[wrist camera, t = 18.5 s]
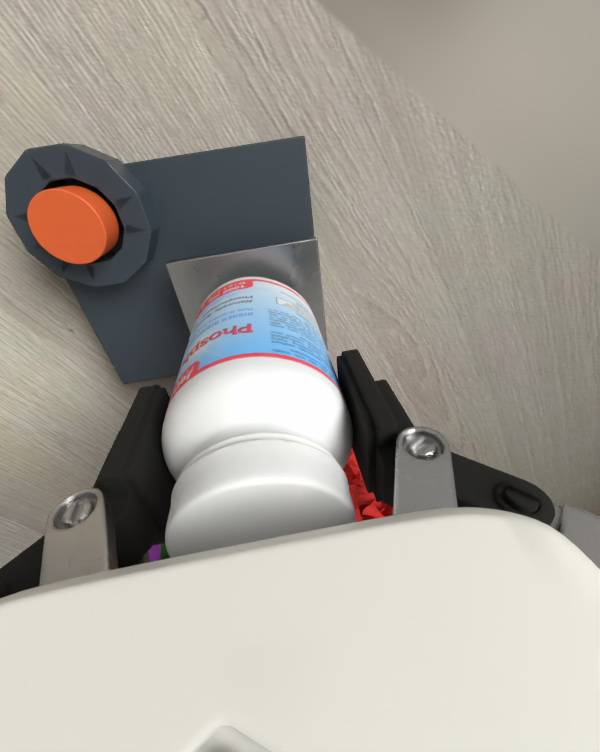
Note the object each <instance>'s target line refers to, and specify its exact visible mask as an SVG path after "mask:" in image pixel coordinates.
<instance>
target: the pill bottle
mask: <svg viewBox="0 0 600 752" xmlns="http://www.w3.org/2000/svg"><path fill="white" fill-rule="evenodd" d="M161 441H162V451H163V455H164V459H165V462H166V464H167V467H168V469H169V471H170V473H171V474H172V476H173V477H174V479H175V480H176V484H175V486H174V488H173V491H172V495H171V507H170V512H169V516H168V520H167V525H166V531H165V545H166V549H167V552H168V554H169V556H170V558H173V557H178V556H183V555H188V554H193V553H199V552H204V551H209V550H214V549H219V548H224V547H229V546H234V545H239V544H244V543H250V542H255V541H260V540H265V539H270V538H275V537H280V536H286V535H291V534H296V533H301V532H307V531H312V530H317V529H322V528H328V527H333V526H338V525H343V524H349V523H354V522H356V514H355V509H354V506H353V502H352V498H351V495H350V491H349V484H348V480H347V477H346V475H345V473H344V471H343V468H344V467H345V465H346V462H347V460H348V458H349V455H350V452H351V448H352V442H353V427H352V421H351V417H350V413H349V410H348V407H347V403H346V401H345V398H344V395H343V392H342V390H341V387H340V384H339V381H338V379H337V376H336V373H335V371H334V368H333V366H332V363H331V360H330V357H329V355H328V352H327V349H326V347H325V344H324V341H323V338H322V336H321V333H320V330H319V327H318V325H317V322H316V319H315V317H314V315H313V312H312V310H311V308H310V307H309V305H308V304H307V302H306V301H305V300H304V298H303V297H302V296H301V295H300V294H298V293H297V292H296V291H295V290H293V289H292V288H290V287H288V286H286V285H284V284H282V283H280V282H278V281H275V280H271V279H268V278H263V277H242V278H238V279H234V280H231V281H229V282H227V283H225V284H223V285H221V286H219V287H218V288H217V289H215V290H214V291H213V292H212V293H211V294H210V295H209V296H208V297H207V298H206V300H205V301H204V302H203V304H202V306H201V308H200V310H199V312H198V314H197V317H196V320H195V323H194V326H193V329H192V332H191V335H190V338H189V341H188V344H187V348H186V351H185V353H184V357H183V360H182V363H181V367H180V370H179V372H178V375H177V379H176V382H175V386H174V389H173V392H172V395H171V398H170V401H169V404H168V408H167V411H166V415H165V419H164V422H163V428H162V439H161Z"/></svg>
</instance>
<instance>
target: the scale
mask: <svg viewBox="0 0 600 752" xmlns="http://www.w3.org/2000/svg"><path fill="white" fill-rule="evenodd" d="M63 186H80V187H84V188H87V189H89V190H91V191H93V192H95V193H96V194H98V195H99V196H100V197H101V198H103V199H104V200H105V201H106V202H107V203H108V205H109V206H110V207H111V209H112V210H113V212H114V214H115V216H116V218H117V221H118V225H119V237H118V241H117V243H116V245H115V246H114V247H113V249H111V250H110V251H109V252H107V253H106V254H104V255H103V256H102V257H100V258H99V259H97V260H95V261H94V262H91V263H88V264H72V263H68V262H65V261H63V260H60V259H58V258H56V257H55V256H53V255H52V254H50V253H49V252H48V251H46V250H45V249H44V248H43V247H42V246H41V245H40V244H39V242H38V241H37V240H36V238H35V237H34V235H33V233H32V231H31V229H30V226H29V223H28V217H27V211H28V206H29V203H30V201H31V199H32V198H33V197H34V196H35V195H36V194H37V193H39V192H41V191H43V190H46V189H51V188H57V187H63ZM5 193H6V214H7V217H8V218H9V220H10V222H11V224H12V225H13V227H14V229H15V230H16V232H17V234H18V235H19V237H20V239H21V241H22V242H23V244H24V246H25V247H26V249H27V251H28V252H29V253H30V254H32V255H33V256H34V257H36V258H37V259H38V260H39V261H41V262H42V263H43V264H44V265H46V266H47V267H48V268H50V269H51V270H52V271H53V272H55V273H56V274H57V275H58V276H60V277H63V278H66V280H67V281H68V283H69V285H70V287H71V289H72V291H73V292H74V294H75V296H76V298H77V300H78V302H79V303H80V305H81V307H82V309H83V311H84V313H85V314H86V316H87V318H88V320H89V322H90V324H91V325H92V327H93V329H94V331H95V333H96V334H97V336H98V338H99V340H100V342H101V344H102V345H103V347H104V349H105V351H106V353H107V355H108V356H109V358H110V360H111V362H112V364H113V366H114V367H115V369H116V371H117V373H118V375H119V376H120V378H121V380H122V382H123V384H128V383H134V382H140V381H145V380H151V379H156V378H162V377H168V376H173V375H178V372H179V370H180V367H181V363H182V360H183V357H184V353H185V351H186V348H187V344H188V341H189V338H190V335H191V333H190V331H189V328H188V325H187V322H186V320H185V317H184V314H183V311H182V308H181V306H180V303H179V300H178V297H177V295H176V292H175V289H174V286H173V283H172V281H171V278H170V275H169V272H168V270H167V267H166V263H167V261H169V260H174V259H180V258H186V257H193V256H199V255H205V254H211V253H217V252H223V251H229V250H235V249H241V248H247V247H253V246H259V245H265V244H271V243H277V242H283V241H289V240H295V239H301V238H307V237H313V236H314V228H313V218H312V208H311V197H310V187H309V177H308V167H307V156H306V146H305V137H304V136H299V137H293V138H287V139H280V140H274V141H268V142H261V143H255V144H248V145H242V146H236V147H229V148H223V149H216V150H210V151H204V152H197V153H191V154H184V155H178V156H172V157H165V158H159V159H153V160H146V161H140V162H133V163H127V164H123V163H122V162H121V161H119V160H118V159H116V158H113V157H111V156H109V155H106V154H104V153H101V152H99V151H97V150H94V149H92V148H90V147H87V146H85V145H79V144H64V143H63V144H56V145H50V146H43V147H37V148H30V149H27V150H25V151H24V153H23V154H22V155H21V157H20V158H19V159H18V160H17V162H16V163H15V164H14V166H13V167H12V168H11V170H10V171H9V172H8V173H7V175H6V177H5Z"/></svg>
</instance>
